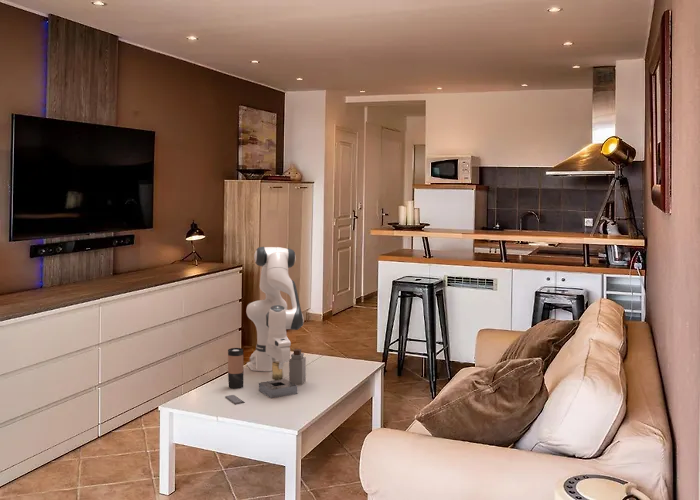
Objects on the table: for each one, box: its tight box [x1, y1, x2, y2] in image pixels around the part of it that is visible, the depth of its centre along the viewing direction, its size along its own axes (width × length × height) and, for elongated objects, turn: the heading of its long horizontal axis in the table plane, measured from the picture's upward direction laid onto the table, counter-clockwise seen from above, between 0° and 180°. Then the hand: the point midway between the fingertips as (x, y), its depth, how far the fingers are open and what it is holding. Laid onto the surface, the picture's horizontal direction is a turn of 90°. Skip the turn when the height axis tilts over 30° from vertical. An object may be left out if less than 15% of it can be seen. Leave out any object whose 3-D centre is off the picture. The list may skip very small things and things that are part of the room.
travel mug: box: [227, 347, 245, 390], centre depth 334 cm, size 8×8×20 cm
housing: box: [258, 378, 298, 399], centre depth 326 cm, size 14×14×5 cm
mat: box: [224, 394, 246, 405], centre depth 319 cm, size 12×12×1 cm
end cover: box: [271, 361, 284, 381], centre depth 326 cm, size 5×5×8 cm
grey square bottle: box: [288, 348, 307, 386], centre depth 343 cm, size 7×7×18 cm
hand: (277, 367), depth 325 cm, fingers closed on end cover, 5 cm apart
